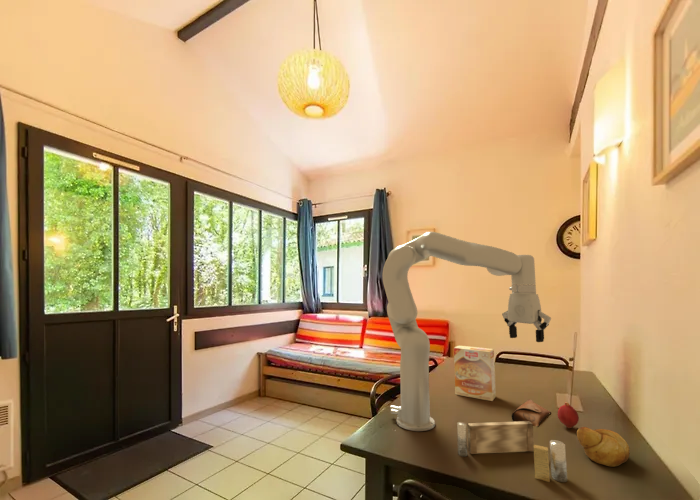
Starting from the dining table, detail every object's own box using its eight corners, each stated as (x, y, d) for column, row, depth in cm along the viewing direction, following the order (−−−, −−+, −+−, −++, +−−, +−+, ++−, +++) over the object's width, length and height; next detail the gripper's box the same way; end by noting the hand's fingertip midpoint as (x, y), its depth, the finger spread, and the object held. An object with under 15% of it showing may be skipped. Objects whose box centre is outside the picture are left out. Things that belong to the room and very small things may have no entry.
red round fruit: (559, 422, 113) (558, 398, 114) (580, 427, 109) (578, 401, 110) (557, 428, 108) (555, 402, 109) (578, 433, 105) (576, 406, 105)
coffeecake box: (454, 394, 141) (453, 347, 143) (459, 390, 147) (458, 344, 149) (492, 401, 133) (490, 351, 135) (496, 396, 139) (494, 348, 141)
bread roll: (602, 446, 96) (600, 417, 97) (643, 462, 88) (640, 430, 88) (574, 456, 91) (572, 425, 92) (615, 474, 82) (612, 440, 83)
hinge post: (457, 455, 91) (456, 424, 92) (459, 451, 93) (458, 421, 94) (466, 457, 90) (465, 426, 91) (468, 453, 92) (467, 423, 93)
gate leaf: (471, 453, 91) (470, 425, 92) (468, 450, 93) (467, 423, 94) (534, 451, 92) (532, 423, 93) (530, 447, 94) (528, 421, 95)
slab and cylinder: (535, 478, 80) (533, 443, 81) (535, 469, 84) (533, 435, 85) (567, 486, 77) (565, 449, 78) (566, 476, 81) (564, 442, 82)
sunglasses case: (539, 427, 109) (526, 406, 112) (519, 433, 112) (508, 413, 115) (552, 412, 122) (540, 393, 125) (534, 418, 126) (523, 400, 128)
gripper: (495, 289, 124) (497, 337, 122) (541, 290, 109) (544, 344, 107) (508, 289, 127) (510, 335, 125) (554, 290, 112) (558, 342, 110)
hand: (526, 339), depth 116 cm, fingers open, 9 cm apart
